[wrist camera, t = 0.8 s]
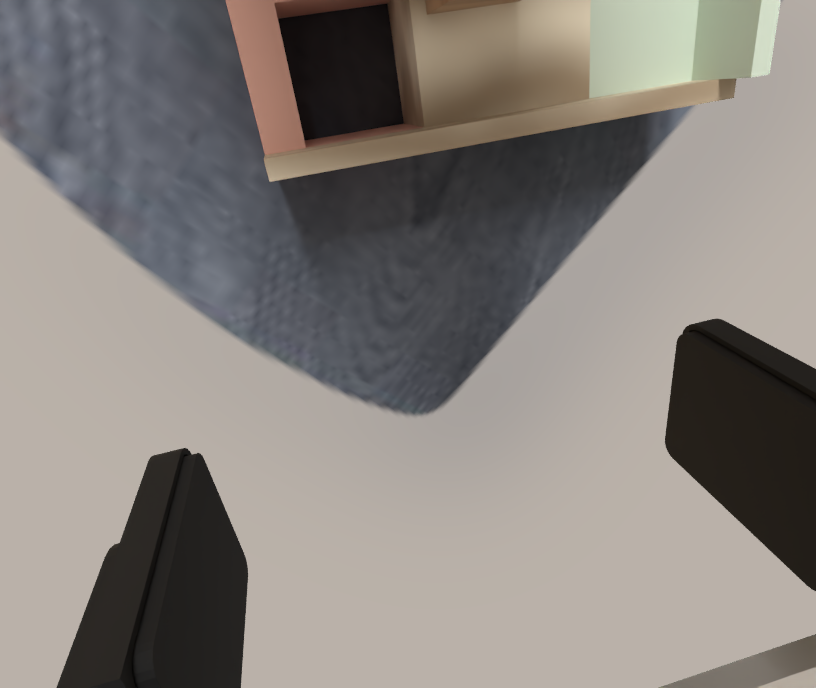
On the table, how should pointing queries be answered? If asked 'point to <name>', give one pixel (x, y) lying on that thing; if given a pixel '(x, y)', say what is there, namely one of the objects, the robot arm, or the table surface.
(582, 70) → the box
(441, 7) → the walnut block
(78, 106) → the table surface
